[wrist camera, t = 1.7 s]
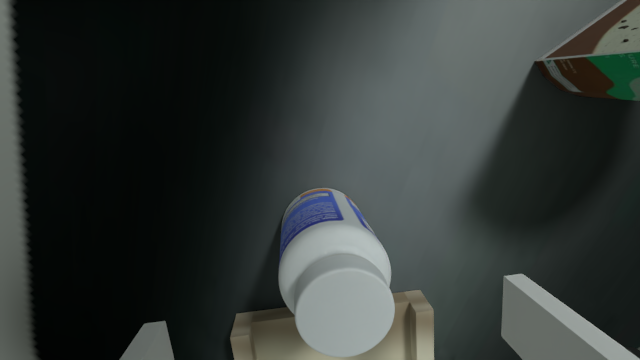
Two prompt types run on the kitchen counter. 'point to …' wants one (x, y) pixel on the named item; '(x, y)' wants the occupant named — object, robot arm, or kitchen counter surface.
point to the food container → (599, 56)
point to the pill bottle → (334, 274)
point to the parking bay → (296, 356)
